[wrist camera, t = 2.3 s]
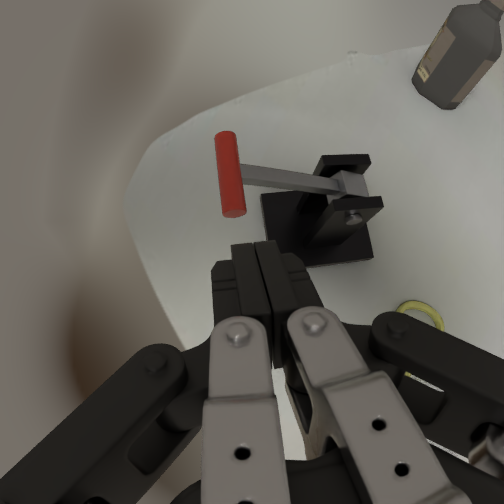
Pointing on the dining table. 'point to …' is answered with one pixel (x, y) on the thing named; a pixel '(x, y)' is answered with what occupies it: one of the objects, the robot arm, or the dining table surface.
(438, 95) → the liquor
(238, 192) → the lever
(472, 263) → the dining table surface
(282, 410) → the dining table surface
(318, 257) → the switch bracket
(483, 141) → the dining table surface
